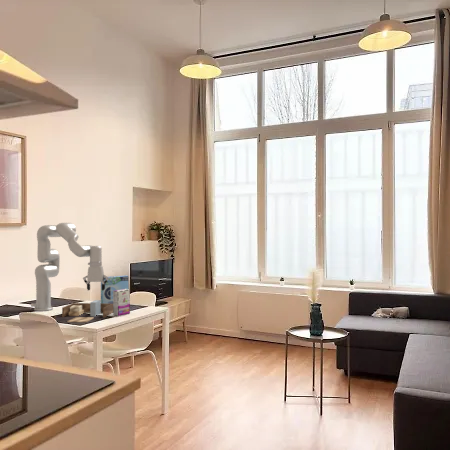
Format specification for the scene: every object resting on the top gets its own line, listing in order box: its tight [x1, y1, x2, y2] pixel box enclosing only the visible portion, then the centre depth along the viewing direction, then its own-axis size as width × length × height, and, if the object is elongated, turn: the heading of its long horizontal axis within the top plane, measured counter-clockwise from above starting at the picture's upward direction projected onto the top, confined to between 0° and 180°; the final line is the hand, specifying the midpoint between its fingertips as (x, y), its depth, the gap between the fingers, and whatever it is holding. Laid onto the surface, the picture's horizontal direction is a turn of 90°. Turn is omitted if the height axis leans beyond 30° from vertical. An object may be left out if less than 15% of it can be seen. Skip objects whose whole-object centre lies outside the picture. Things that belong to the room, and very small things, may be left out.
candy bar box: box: [112, 288, 131, 317], centre depth 308 cm, size 11×5×16 cm, turn 148°
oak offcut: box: [68, 310, 85, 317], centre depth 308 cm, size 7×9×3 cm
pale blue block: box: [89, 299, 102, 317], centre depth 307 cm, size 4×10×9 cm, turn 176°
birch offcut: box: [70, 305, 82, 312], centre depth 308 cm, size 6×8×3 cm
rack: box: [61, 302, 113, 318], centre depth 308 cm, size 28×18×6 cm, turn 86°
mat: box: [67, 316, 95, 323], centre depth 290 cm, size 12×13×1 cm
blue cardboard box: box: [100, 274, 129, 304], centre depth 333 cm, size 20×5×23 cm, turn 123°
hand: (96, 290), depth 307 cm, fingers open, 9 cm apart
